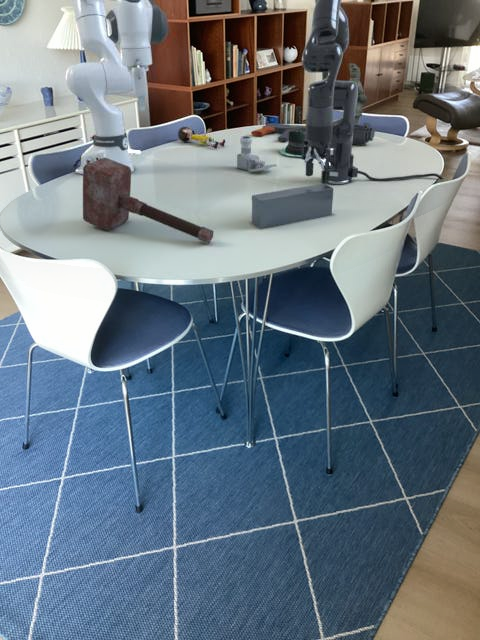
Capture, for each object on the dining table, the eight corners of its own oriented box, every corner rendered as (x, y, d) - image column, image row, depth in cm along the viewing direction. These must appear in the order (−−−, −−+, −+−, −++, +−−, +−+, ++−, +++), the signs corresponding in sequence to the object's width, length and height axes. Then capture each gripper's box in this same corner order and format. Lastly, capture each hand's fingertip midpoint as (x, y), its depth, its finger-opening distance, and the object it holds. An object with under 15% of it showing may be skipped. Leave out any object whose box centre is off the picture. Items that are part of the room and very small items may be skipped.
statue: (367, 132, 266) (374, 63, 251) (349, 133, 264) (355, 64, 249) (357, 127, 275) (362, 61, 260) (339, 129, 273) (344, 62, 258)
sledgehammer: (223, 202, 148) (103, 155, 160) (205, 213, 141) (81, 164, 152) (214, 257, 158) (102, 210, 170) (196, 271, 151) (81, 220, 163)
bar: (260, 228, 160) (260, 200, 156) (252, 222, 164) (251, 195, 160) (331, 214, 169) (333, 188, 165) (321, 209, 173) (323, 183, 169)
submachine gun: (244, 132, 259) (268, 122, 277) (244, 138, 260) (268, 128, 279) (307, 138, 245) (328, 127, 264) (307, 145, 246) (328, 133, 265)
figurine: (211, 139, 238) (170, 125, 250) (210, 157, 242) (170, 142, 255) (230, 134, 247) (190, 120, 259) (229, 150, 251) (189, 136, 263)
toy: (345, 120, 249) (377, 123, 242) (343, 139, 253) (375, 143, 246) (337, 123, 243) (369, 127, 236) (336, 143, 247) (367, 147, 240)
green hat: (332, 145, 241) (326, 158, 224) (294, 164, 249) (286, 177, 233) (317, 113, 235) (310, 124, 219) (279, 133, 244) (269, 145, 228)
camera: (247, 133, 214) (277, 139, 205) (247, 164, 220) (276, 171, 211) (231, 137, 209) (262, 144, 200) (232, 169, 215) (261, 176, 206)
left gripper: (149, 61, 155) (154, 113, 162) (146, 55, 172) (150, 102, 179) (126, 62, 154) (132, 114, 161) (125, 55, 171) (130, 103, 178)
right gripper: (345, 125, 151) (341, 183, 160) (316, 116, 162) (314, 171, 171) (322, 128, 149) (319, 187, 157) (294, 119, 160) (293, 175, 168)
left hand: (141, 108), depth 170 cm, fingers open, 8 cm apart
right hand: (316, 179), depth 164 cm, fingers open, 8 cm apart
